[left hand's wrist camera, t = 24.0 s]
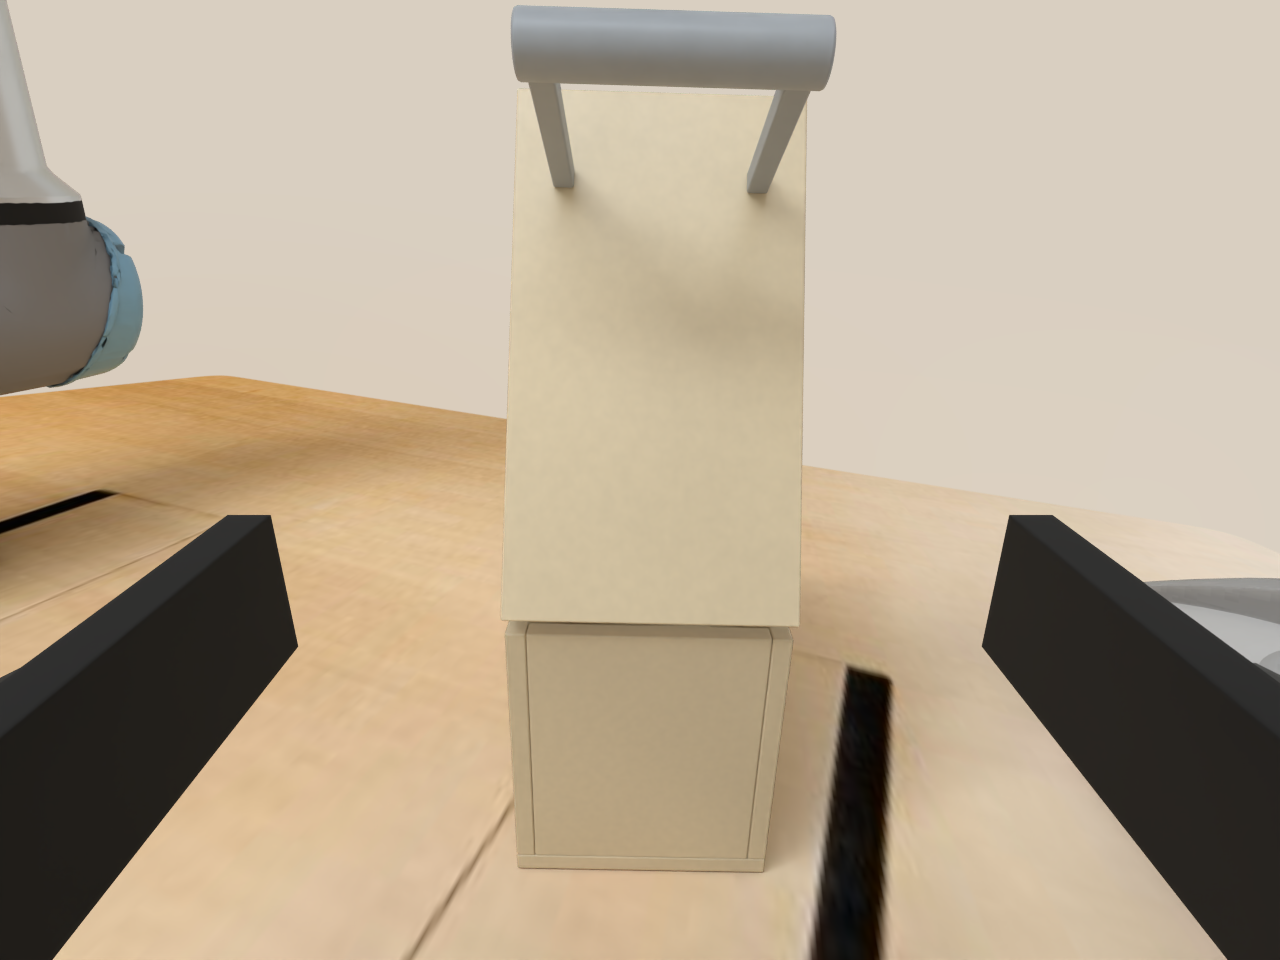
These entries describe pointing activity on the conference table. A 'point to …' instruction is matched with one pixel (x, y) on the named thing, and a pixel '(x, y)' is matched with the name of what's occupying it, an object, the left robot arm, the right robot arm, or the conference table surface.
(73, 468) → the conference table surface
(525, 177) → the lid
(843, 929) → the conference table surface
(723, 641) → the chest
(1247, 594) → the projector
